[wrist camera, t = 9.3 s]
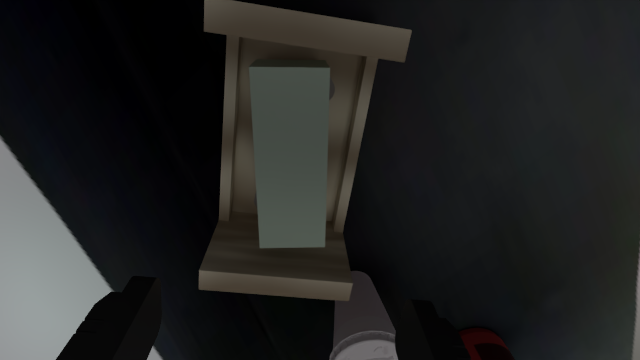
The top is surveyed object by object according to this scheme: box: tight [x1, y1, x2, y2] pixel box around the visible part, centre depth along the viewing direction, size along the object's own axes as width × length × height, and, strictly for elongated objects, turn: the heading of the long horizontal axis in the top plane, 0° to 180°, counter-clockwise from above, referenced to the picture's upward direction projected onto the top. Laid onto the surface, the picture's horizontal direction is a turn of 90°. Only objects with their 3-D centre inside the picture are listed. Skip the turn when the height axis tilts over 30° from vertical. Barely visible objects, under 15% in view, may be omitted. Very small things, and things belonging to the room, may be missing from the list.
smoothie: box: [329, 271, 398, 360], centre depth 30 cm, size 6×6×14 cm
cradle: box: [199, 0, 412, 301], centre depth 26 cm, size 18×10×9 cm, turn 171°
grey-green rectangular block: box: [249, 59, 330, 248], centre depth 24 cm, size 12×4×4 cm, turn 179°
